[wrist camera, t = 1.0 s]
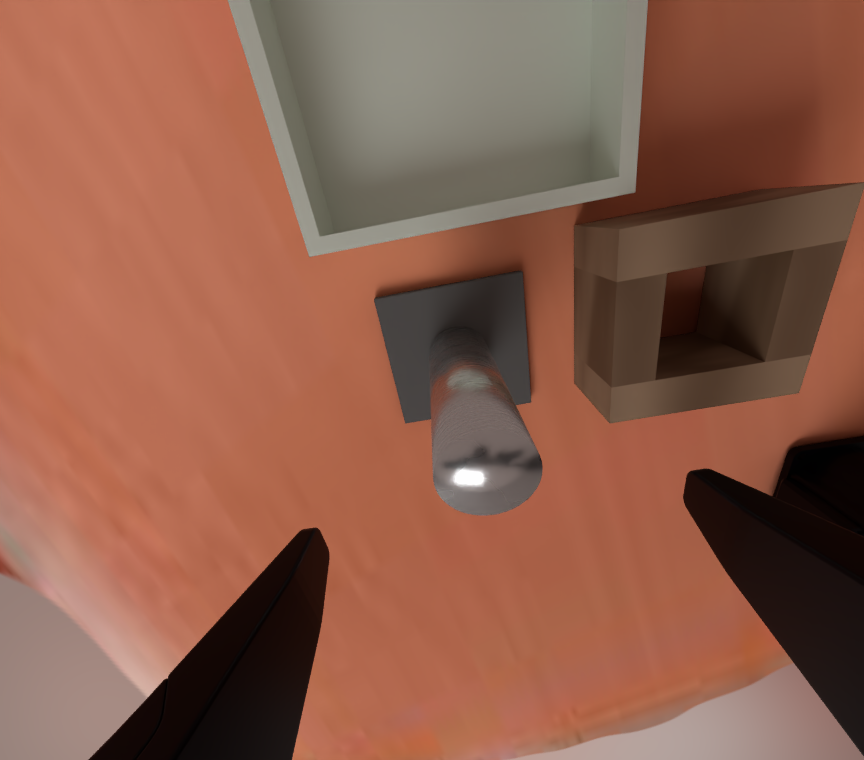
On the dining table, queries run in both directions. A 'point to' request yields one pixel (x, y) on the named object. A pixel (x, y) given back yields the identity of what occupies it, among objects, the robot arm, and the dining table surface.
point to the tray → (444, 109)
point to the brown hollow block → (707, 298)
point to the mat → (449, 307)
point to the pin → (477, 429)
